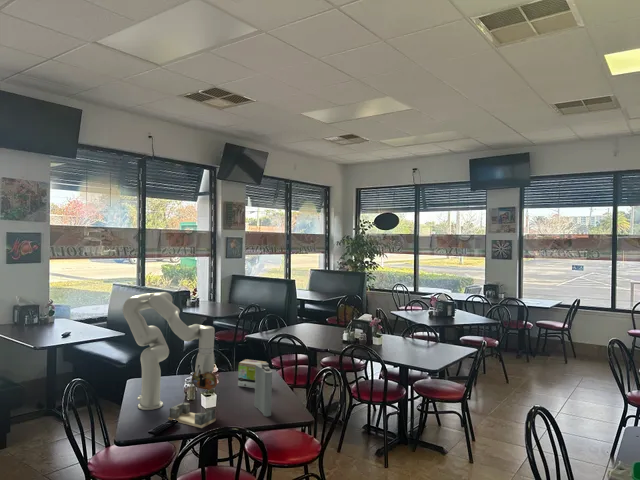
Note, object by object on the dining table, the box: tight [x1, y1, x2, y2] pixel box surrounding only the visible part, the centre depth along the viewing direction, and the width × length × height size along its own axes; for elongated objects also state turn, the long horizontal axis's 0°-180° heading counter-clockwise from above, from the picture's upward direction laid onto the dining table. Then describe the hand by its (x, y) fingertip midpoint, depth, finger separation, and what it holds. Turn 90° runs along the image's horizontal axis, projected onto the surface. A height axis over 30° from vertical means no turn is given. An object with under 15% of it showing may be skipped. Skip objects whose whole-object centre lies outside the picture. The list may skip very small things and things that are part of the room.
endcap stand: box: [167, 401, 217, 429], centre depth 234 cm, size 10×21×6 cm, turn 64°
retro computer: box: [237, 358, 268, 389], centre depth 291 cm, size 15×10×15 cm, turn 73°
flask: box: [254, 362, 273, 417], centre depth 250 cm, size 17×5×25 cm, turn 27°
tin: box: [191, 371, 218, 391], centre depth 246 cm, size 15×3×8 cm, turn 64°
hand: (204, 385), depth 246 cm, fingers closed on tin, 2 cm apart
